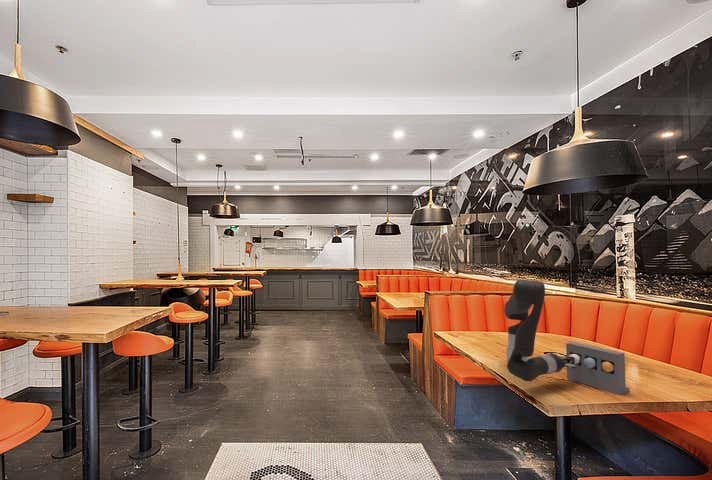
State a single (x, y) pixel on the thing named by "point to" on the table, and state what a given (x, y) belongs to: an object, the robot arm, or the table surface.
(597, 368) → the button panel
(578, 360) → the offwhite button
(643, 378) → the table surface
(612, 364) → the orange button
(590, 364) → the slate button
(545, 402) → the table surface
